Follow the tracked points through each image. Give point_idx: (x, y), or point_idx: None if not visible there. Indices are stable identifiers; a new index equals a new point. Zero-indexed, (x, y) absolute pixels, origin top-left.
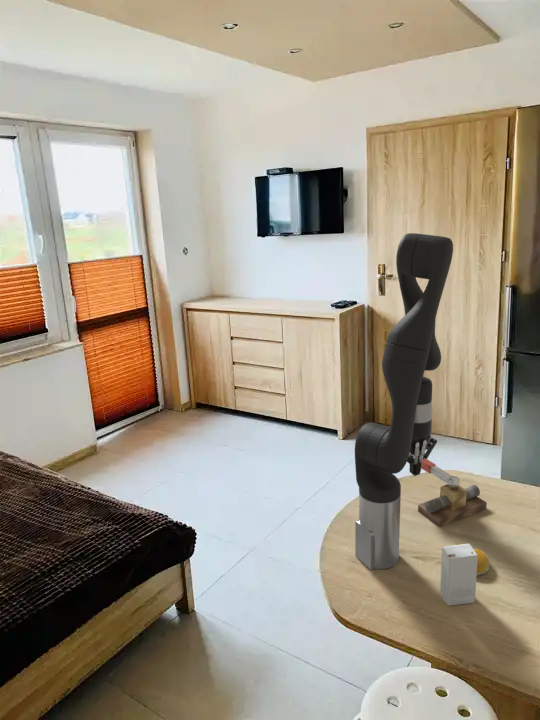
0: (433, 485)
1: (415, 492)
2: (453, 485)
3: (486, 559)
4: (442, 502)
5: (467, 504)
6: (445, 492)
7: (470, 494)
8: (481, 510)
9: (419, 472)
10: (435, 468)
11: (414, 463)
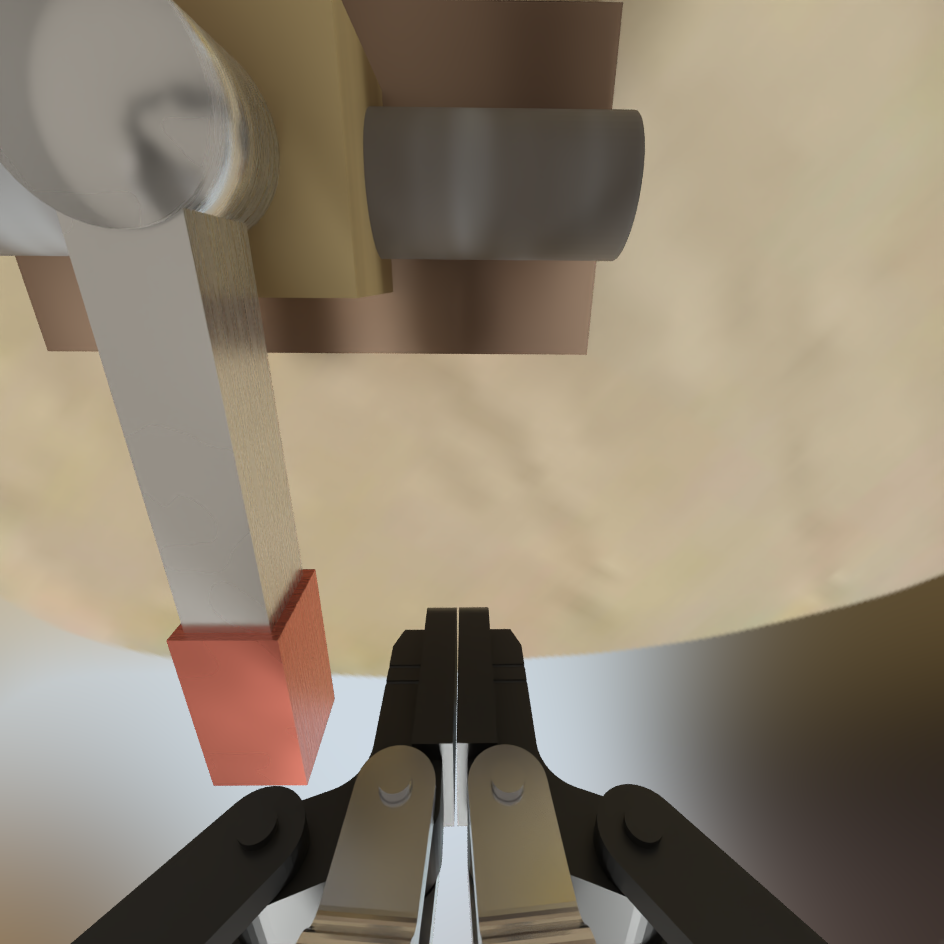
0: None
1: (418, 539)
2: (205, 32)
3: None
4: (475, 116)
5: None
6: (355, 189)
7: None
8: None
9: (433, 623)
10: (227, 571)
11: (543, 768)
